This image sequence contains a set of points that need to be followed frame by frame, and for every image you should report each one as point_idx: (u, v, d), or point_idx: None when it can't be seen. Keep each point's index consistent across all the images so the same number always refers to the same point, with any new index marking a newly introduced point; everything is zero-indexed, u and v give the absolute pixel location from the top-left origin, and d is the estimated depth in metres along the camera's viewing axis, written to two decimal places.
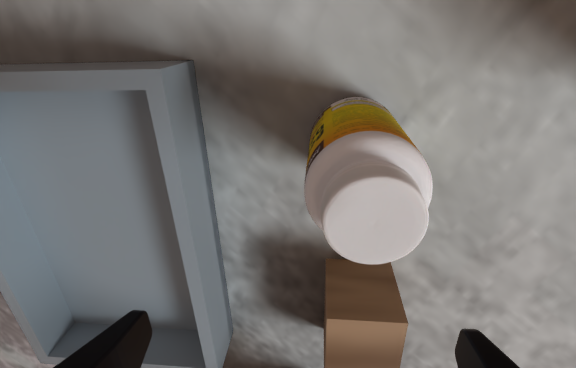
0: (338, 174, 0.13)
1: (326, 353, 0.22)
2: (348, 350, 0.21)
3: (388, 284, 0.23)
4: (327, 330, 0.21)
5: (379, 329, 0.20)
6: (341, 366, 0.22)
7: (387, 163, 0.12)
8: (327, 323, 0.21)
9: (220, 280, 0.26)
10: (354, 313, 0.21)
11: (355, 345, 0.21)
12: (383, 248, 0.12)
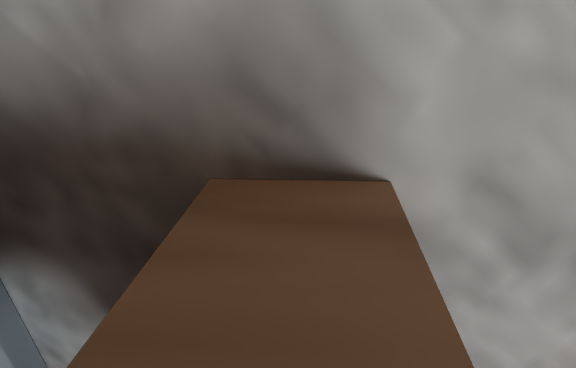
0: None
1: None
2: None
3: (383, 237, 0.06)
4: None
5: None
6: None
7: None
8: None
9: None
10: (212, 359, 0.04)
11: None
12: None
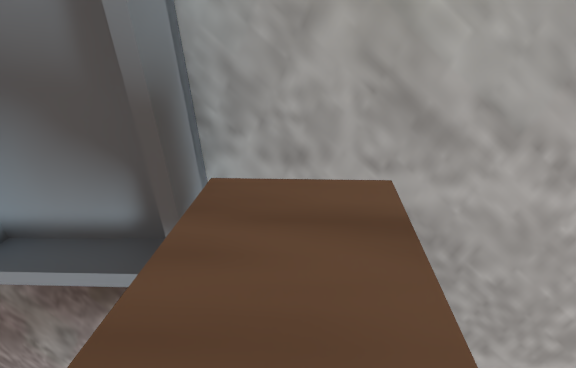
0: None
1: None
2: None
3: (385, 236, 0.06)
4: None
5: None
6: None
7: None
8: None
9: (193, 149, 0.18)
10: (214, 357, 0.04)
11: None
12: None
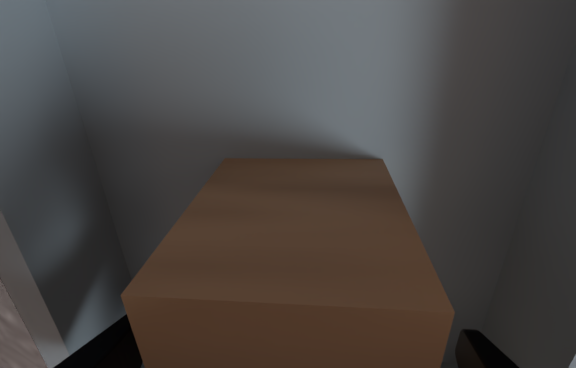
0: None
1: None
2: None
3: (374, 199, 0.08)
4: (140, 342, 0.05)
5: (336, 340, 0.05)
6: None
7: None
8: (132, 315, 0.05)
9: None
10: (241, 276, 0.05)
11: None
12: None
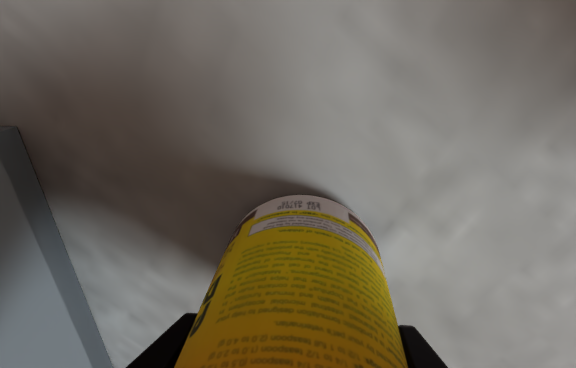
0: None
1: None
2: None
3: None
4: None
5: None
6: None
7: None
8: None
9: None
10: None
11: None
12: None
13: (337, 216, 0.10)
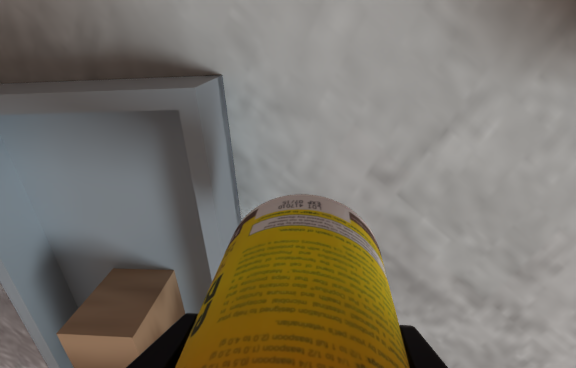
0: None
1: None
2: (93, 365, 0.21)
3: (149, 295, 0.22)
4: (63, 345, 0.20)
5: (110, 344, 0.20)
6: None
7: None
8: (60, 338, 0.20)
9: None
10: (89, 327, 0.20)
11: (96, 360, 0.21)
12: None
13: (338, 215, 0.10)
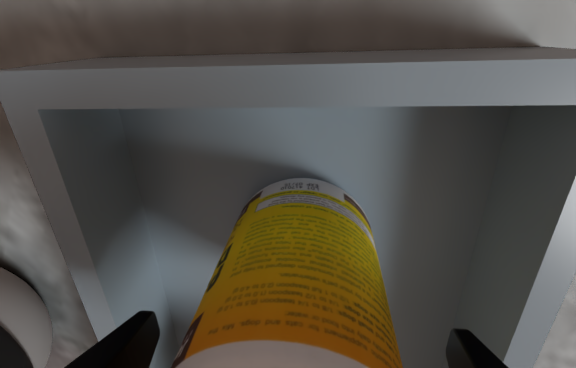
0: None
1: None
2: None
3: None
4: None
5: None
6: None
7: None
8: None
9: None
10: None
11: None
12: None
13: (333, 196, 0.11)
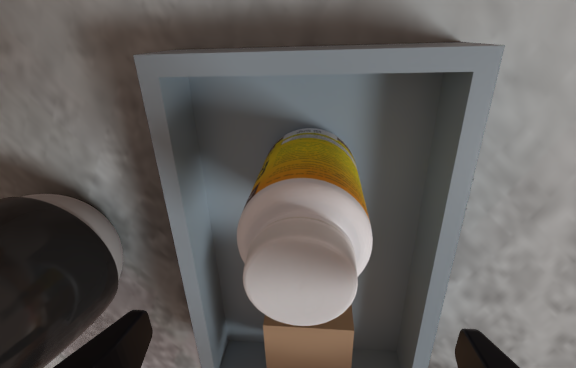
0: (263, 227, 0.11)
1: (267, 364, 0.19)
2: (291, 361, 0.19)
3: None
4: (265, 338, 0.18)
5: (323, 338, 0.18)
6: None
7: (315, 217, 0.11)
8: (264, 330, 0.18)
9: None
10: None
11: (298, 355, 0.19)
12: (311, 310, 0.11)
13: (330, 136, 0.18)
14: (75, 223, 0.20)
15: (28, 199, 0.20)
